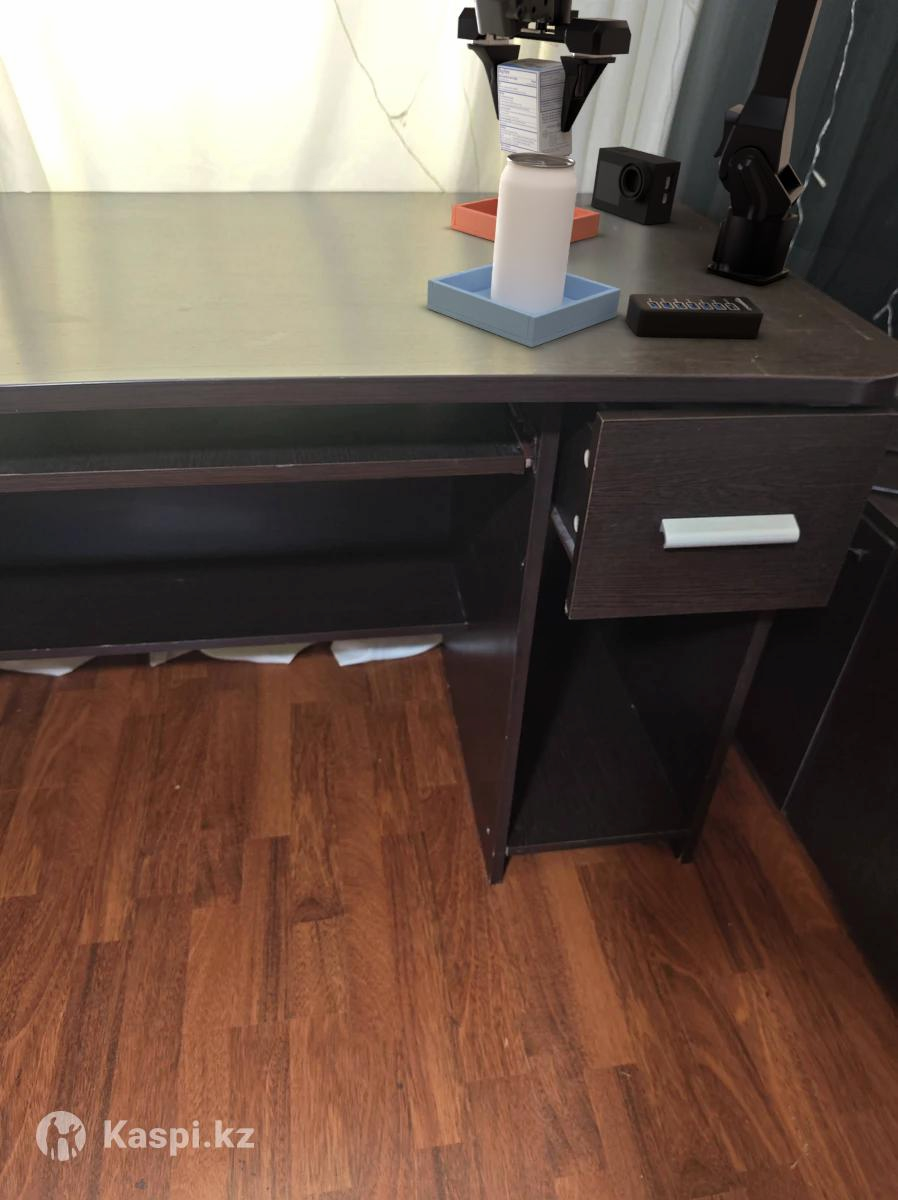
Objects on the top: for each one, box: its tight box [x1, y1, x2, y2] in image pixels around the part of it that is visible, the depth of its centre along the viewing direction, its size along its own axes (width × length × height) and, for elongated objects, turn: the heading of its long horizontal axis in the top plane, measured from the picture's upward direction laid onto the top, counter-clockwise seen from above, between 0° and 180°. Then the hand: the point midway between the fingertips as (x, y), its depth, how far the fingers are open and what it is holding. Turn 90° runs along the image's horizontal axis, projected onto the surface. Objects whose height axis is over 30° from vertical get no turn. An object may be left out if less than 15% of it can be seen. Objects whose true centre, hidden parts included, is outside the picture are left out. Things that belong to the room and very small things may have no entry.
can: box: [491, 153, 578, 315], centre depth 73 cm, size 6×6×12 cm
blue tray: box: [426, 262, 622, 348], centre depth 76 cm, size 12×12×2 cm
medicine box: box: [497, 57, 573, 157], centre depth 92 cm, size 8×4×9 cm, turn 30°
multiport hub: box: [625, 293, 765, 340], centre depth 75 cm, size 4×11×2 cm, turn 95°
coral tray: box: [450, 196, 601, 244], centre depth 99 cm, size 12×12×2 cm
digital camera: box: [590, 145, 682, 226], centre depth 107 cm, size 10×5×7 cm, turn 33°
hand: (532, 126), depth 93 cm, fingers closed on medicine box, 8 cm apart
